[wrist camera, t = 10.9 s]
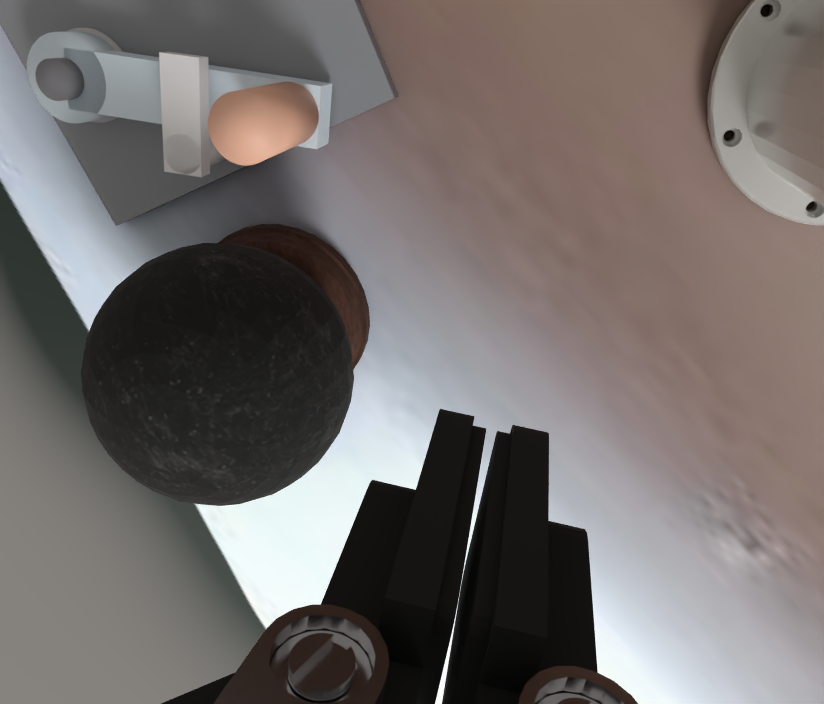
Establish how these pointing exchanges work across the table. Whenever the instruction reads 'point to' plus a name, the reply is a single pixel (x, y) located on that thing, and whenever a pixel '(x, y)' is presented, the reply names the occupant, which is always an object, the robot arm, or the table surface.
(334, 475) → the table surface
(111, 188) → the pintle board
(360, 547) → the robot arm
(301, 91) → the white lever handle
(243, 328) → the black stone ball
